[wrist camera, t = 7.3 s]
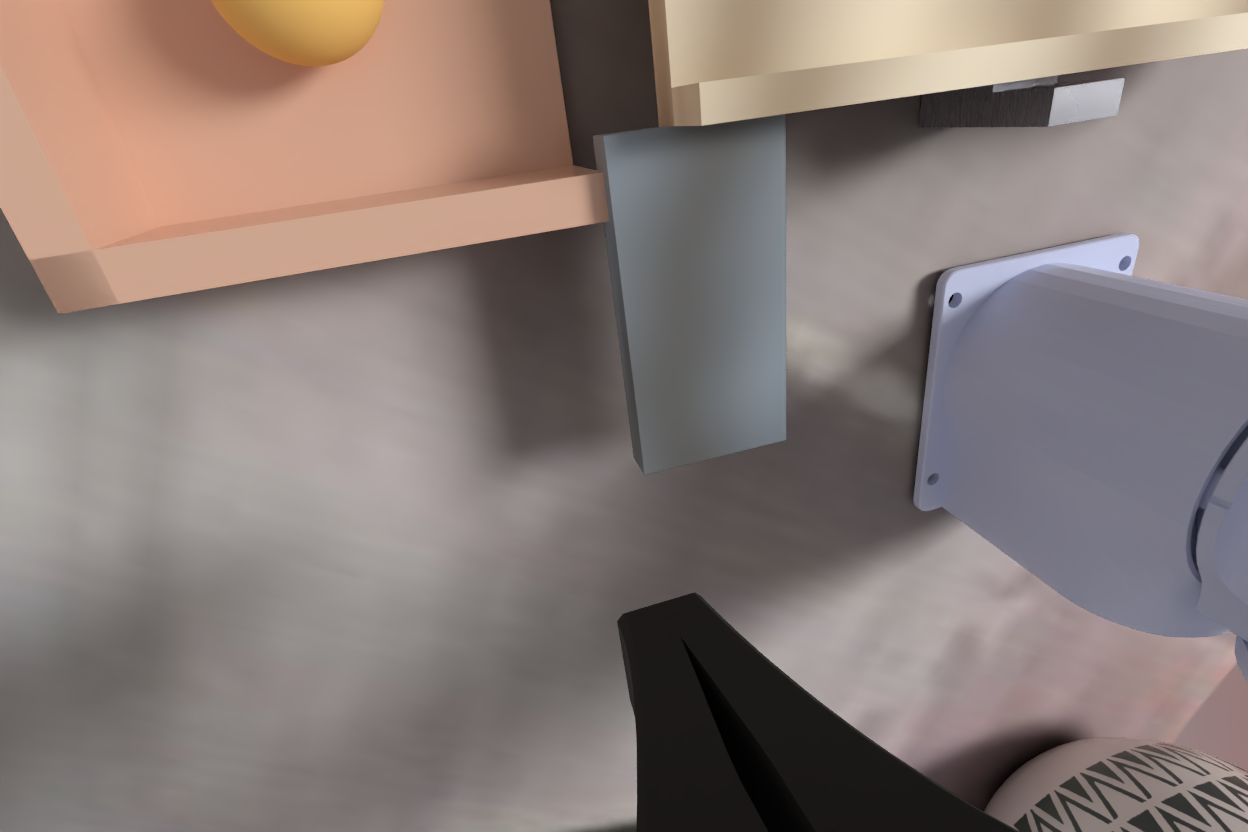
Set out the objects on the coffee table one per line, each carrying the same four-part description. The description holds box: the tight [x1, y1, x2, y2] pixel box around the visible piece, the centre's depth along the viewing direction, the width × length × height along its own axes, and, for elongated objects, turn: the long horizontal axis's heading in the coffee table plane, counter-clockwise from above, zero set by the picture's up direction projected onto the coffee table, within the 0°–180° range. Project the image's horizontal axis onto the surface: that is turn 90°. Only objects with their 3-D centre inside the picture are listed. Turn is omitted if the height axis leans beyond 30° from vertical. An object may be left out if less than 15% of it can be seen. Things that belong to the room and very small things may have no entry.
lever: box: [593, 0, 1248, 475], centre depth 14 cm, size 22×15×3 cm
